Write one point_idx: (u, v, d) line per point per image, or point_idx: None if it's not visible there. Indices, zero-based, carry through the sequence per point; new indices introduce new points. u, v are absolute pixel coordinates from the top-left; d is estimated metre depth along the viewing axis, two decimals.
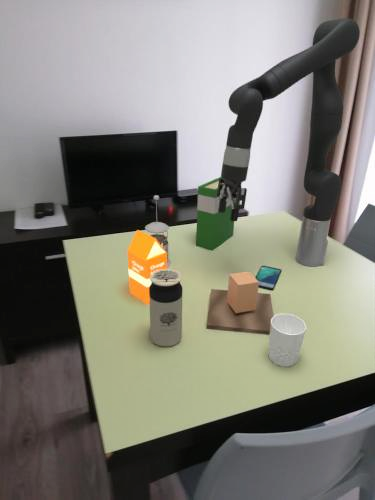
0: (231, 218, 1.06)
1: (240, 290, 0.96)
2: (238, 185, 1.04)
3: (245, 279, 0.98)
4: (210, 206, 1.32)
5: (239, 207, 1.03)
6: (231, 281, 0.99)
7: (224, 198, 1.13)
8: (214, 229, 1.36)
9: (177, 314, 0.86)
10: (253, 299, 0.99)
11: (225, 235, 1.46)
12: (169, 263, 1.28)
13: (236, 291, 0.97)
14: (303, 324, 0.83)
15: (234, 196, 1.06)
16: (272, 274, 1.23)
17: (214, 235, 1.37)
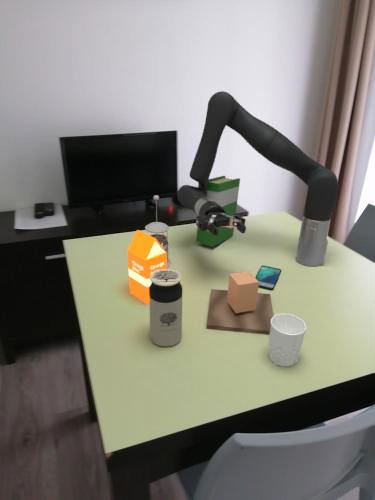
0: (214, 234, 1.03)
1: (240, 290, 0.96)
2: None
3: (245, 279, 0.98)
4: None
5: (201, 227, 1.05)
6: (231, 281, 0.99)
7: (236, 223, 1.08)
8: None
9: (177, 314, 0.86)
10: (253, 299, 0.99)
11: (226, 233, 1.46)
12: (169, 263, 1.28)
13: (236, 291, 0.97)
14: (303, 324, 0.83)
15: None
16: (272, 274, 1.23)
17: None
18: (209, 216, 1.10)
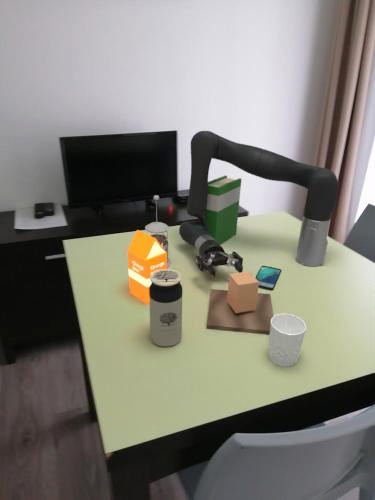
0: None
1: (240, 290, 0.96)
2: None
3: (245, 279, 0.98)
4: (213, 204, 1.34)
5: (200, 268, 1.11)
6: (231, 281, 0.99)
7: None
8: (217, 227, 1.37)
9: (177, 314, 0.86)
10: (253, 299, 0.99)
11: (228, 233, 1.47)
12: (169, 263, 1.28)
13: (236, 291, 0.97)
14: (303, 324, 0.83)
15: (211, 262, 1.14)
16: (272, 274, 1.23)
17: (216, 233, 1.38)
18: (208, 255, 1.15)
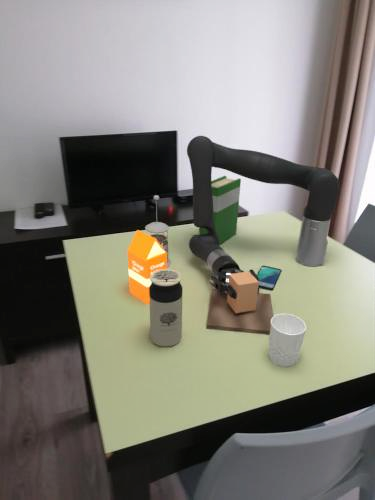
0: None
1: (240, 290, 0.96)
2: (218, 276, 1.06)
3: (245, 279, 0.98)
4: (213, 205, 1.34)
5: (219, 289, 1.01)
6: (231, 281, 0.99)
7: None
8: (216, 227, 1.37)
9: (177, 314, 0.86)
10: (253, 299, 0.99)
11: (228, 233, 1.47)
12: (169, 263, 1.28)
13: (236, 291, 0.97)
14: (303, 324, 0.83)
15: None
16: (273, 274, 1.23)
17: None
18: (222, 273, 1.06)
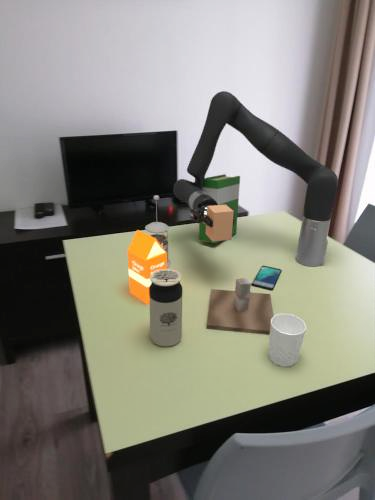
0: (209, 226, 1.06)
1: (216, 218, 1.04)
2: (197, 211, 1.14)
3: (221, 209, 1.06)
4: (213, 198, 1.35)
5: (197, 220, 1.08)
6: (208, 212, 1.07)
7: None
8: None
9: (177, 314, 0.86)
10: (228, 228, 1.07)
11: None
12: (169, 263, 1.28)
13: (213, 219, 1.05)
14: (303, 324, 0.83)
15: None
16: (273, 274, 1.23)
17: None
18: (202, 208, 1.13)
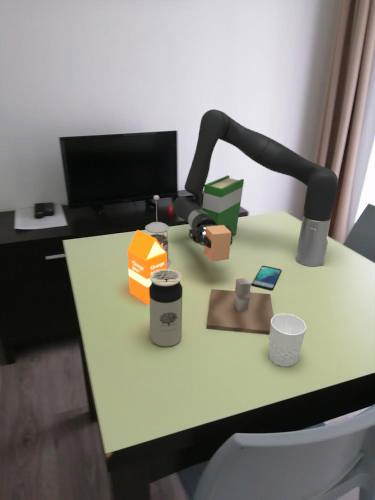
0: None
1: (214, 239, 1.07)
2: None
3: (219, 230, 1.09)
4: (215, 205, 1.33)
5: (196, 240, 1.12)
6: (207, 232, 1.10)
7: None
8: None
9: (177, 314, 0.86)
10: (226, 249, 1.10)
11: None
12: (169, 263, 1.28)
13: (211, 240, 1.08)
14: (303, 324, 0.83)
15: None
16: (273, 274, 1.23)
17: None
18: (200, 228, 1.17)
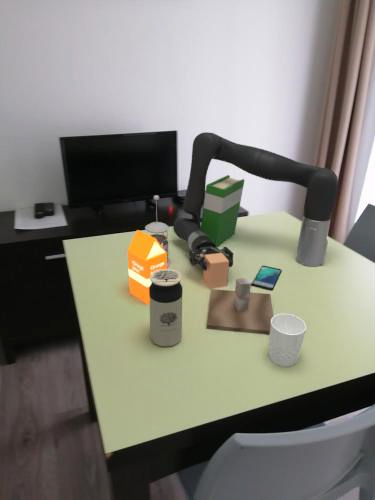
0: None
1: (212, 268, 1.11)
2: None
3: (217, 259, 1.13)
4: (217, 206, 1.33)
5: (192, 262, 1.15)
6: (205, 261, 1.15)
7: None
8: (219, 228, 1.37)
9: (177, 314, 0.86)
10: (224, 276, 1.14)
11: (228, 233, 1.47)
12: (169, 263, 1.28)
13: (209, 269, 1.12)
14: (303, 324, 0.83)
15: None
16: (273, 274, 1.23)
17: (218, 234, 1.38)
18: (200, 250, 1.20)
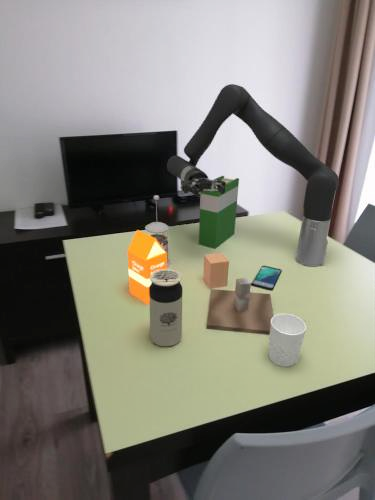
0: (195, 195, 1.12)
1: (212, 268, 1.11)
2: None
3: (217, 259, 1.13)
4: (213, 205, 1.33)
5: (184, 190, 1.15)
6: (205, 261, 1.15)
7: (217, 186, 1.17)
8: (217, 228, 1.37)
9: (177, 314, 0.86)
10: (224, 276, 1.14)
11: (227, 233, 1.47)
12: (169, 263, 1.28)
13: (209, 269, 1.12)
14: (303, 324, 0.83)
15: (195, 186, 1.18)
16: (273, 274, 1.23)
17: (216, 234, 1.38)
18: (192, 180, 1.19)
